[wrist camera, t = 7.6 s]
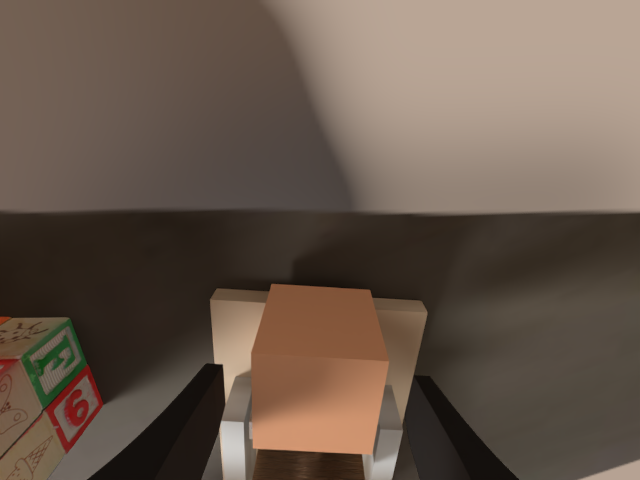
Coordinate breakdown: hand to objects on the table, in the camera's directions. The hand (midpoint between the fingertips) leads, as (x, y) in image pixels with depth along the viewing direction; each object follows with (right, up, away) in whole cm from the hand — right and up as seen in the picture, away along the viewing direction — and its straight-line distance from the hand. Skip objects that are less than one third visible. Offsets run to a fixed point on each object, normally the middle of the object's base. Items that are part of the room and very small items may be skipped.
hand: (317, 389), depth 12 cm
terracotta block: (0, +2, +3) cm, 3 cm away
